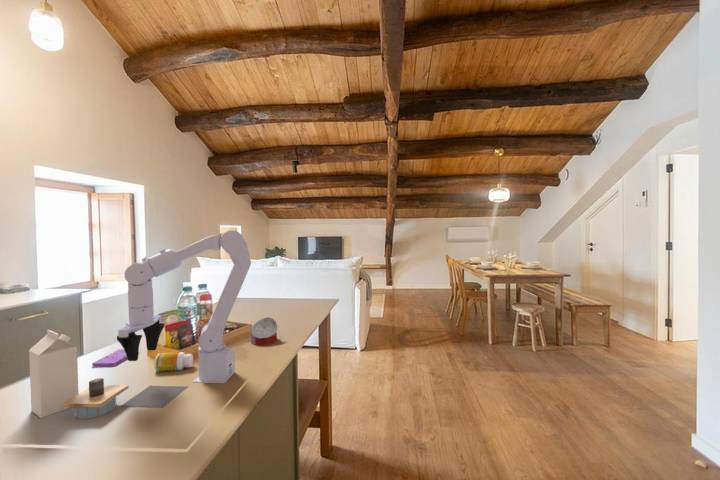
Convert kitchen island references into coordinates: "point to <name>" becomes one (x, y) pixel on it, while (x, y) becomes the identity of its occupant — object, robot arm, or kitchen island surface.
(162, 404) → the rubber mat
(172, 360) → the supplement bottle
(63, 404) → the oak lid
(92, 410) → the ceramic bowl
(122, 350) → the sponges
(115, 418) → the kitchen island surface
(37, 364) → the milk carton
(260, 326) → the canned food
